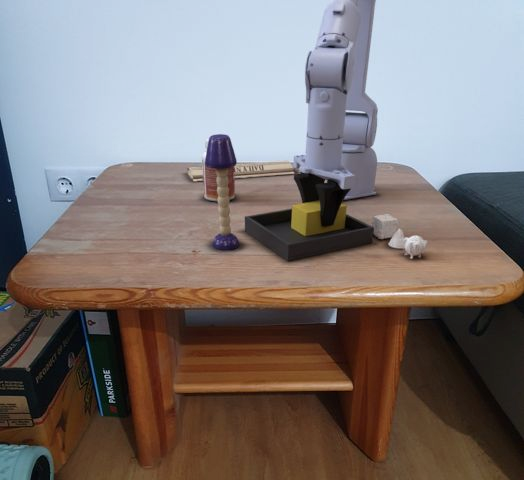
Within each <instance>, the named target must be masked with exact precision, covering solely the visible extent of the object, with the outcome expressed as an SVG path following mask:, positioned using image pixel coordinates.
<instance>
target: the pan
mask: <svg viewBox="0 0 524 480" xmlns="http://www.w3.org/2000/svg"><path fill="white" fill-rule="evenodd" d="M291 222H292V208H287V209H280V210H275V211H269V212H263V213H258V214H257V213H256V214H252V215H246V216H244V232H245V233H247V234H248V235H249V236H251V237H252V238H254V239H255V240H257V241H258V242H260V243H261V244H262V245H264V246H265V247H267V248H268V249H269V250H271V251H272V252H274V253H276V255H279V256H280V257H281V258H282V259H284V260H285V261H287V262H290V261H296V260H299V259H303V258H308V257H313V256H318V255H322V254H327V253H331V252H336V251H340V250H344V249H349V248H354V247H358V246H363V245H368V244H372V243H373V239H374V234H373V231H374V227H372V225H370V224H367V223H365V222H364V221H361V220H360V219H357V218H355V217H353V216H351V215H349V214H348V213H346V218H345V228H344V229H339V230H334V231H329V232H325V233H320V234H315V235H310V236H304V235H302V234H301V233H299V232H297V231H296V230H294V229H292V228H291Z"/></svg>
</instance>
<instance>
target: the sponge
mask: <svg viewBox="0 0 524 480" xmlns="http://www.w3.org/2000/svg"><path fill="white" fill-rule="evenodd" d="M291 206H292V207H291V209H292V222H291V228H292V229H294V230H296V231H297V232H299V233H301V234H302V235H304V236H310V235H315V234H320V233H325V232H329V231H334V230H339V229H344V228H345V218H346V214H347V205H346V204H344V203H342V204H341V206H340V208H339V210H338V213H337V216H336V219H335V222H334V224H333V225H331V226H326V227H323V226H322V225H321V218H320V200H319V201H313V202H307V203H302V202H301V203H296V204H292V205H291Z"/></svg>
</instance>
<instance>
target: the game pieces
mask: <svg viewBox="0 0 524 480" xmlns="http://www.w3.org/2000/svg"><path fill="white" fill-rule="evenodd" d="M371 224H372V225H371V226H372V227H374V231H373V236H375V237H377V239H379V240H384V239H390V240H389V242H388V243H387V244H388V246H389V247H391V248H393V249H403V251H405V253H404V256H409V255H410V257H409V259H414V256H417V258H421V257H422V254H425V253H424V252H425V250H426V248H427V245H428V240H425V239H423V237H422V236H420V235H416V234H415V235H411V236H409V237H407V236H404V231H403V230H402V229H401V228H398V224H399V220H398V218H395V217H394V216H392V215H391V214H389V213H384V214H379V215H374V216H373V217H372V223H371Z"/></svg>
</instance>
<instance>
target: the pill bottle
mask: <svg viewBox="0 0 524 480" xmlns="http://www.w3.org/2000/svg"><path fill="white" fill-rule="evenodd" d="M209 138H210V137H208V138H205V140H204V144H205V145H204V146H205V149H207V147H208V141H209ZM206 153H207V150H205V151H204V152H203V153H202V155H201V164H202V166H201V167H203V181H202V183H203V184H202V185H203V197H204V198H205V199H206V200H207V201H210V202H211V201H212V202H216V203H218V194H217V187H218V185H217V182H216V179H217V174H216V169H213V168H209V167H207V166H206V164H205V159H206ZM227 177H228V185H227V186H228V189H229V194H228V197H229V201H231V200H233V199H234V198H235V197H236V188H235V187H236V180H235V179H236V178H234V166H233V167H231V168H228V174H227Z"/></svg>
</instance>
